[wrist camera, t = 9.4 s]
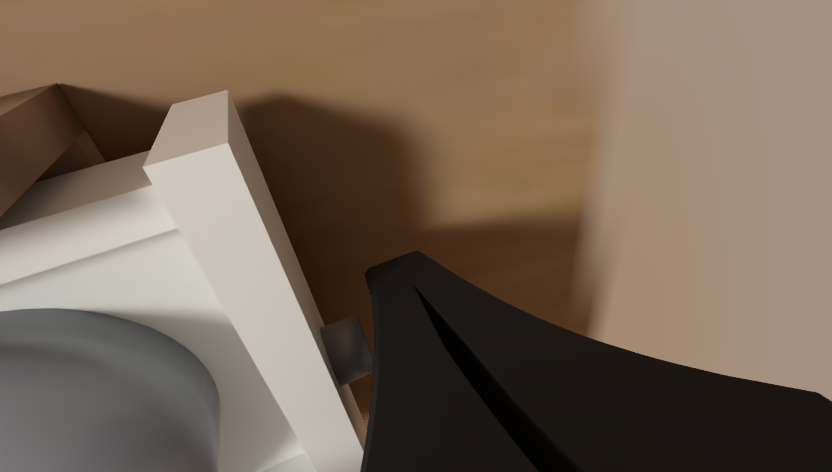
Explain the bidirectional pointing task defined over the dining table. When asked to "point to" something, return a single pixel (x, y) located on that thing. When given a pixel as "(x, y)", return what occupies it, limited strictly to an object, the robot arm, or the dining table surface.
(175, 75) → the dining table surface
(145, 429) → the grey dome
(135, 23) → the dining table surface
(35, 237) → the white drawer
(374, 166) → the dining table surface
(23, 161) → the open square box
